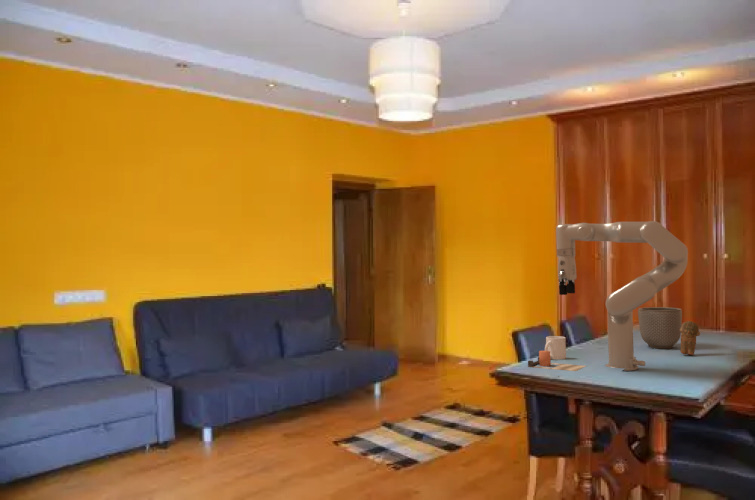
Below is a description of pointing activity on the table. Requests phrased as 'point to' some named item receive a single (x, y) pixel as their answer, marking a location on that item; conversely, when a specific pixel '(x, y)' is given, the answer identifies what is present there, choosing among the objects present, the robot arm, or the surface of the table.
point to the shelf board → (560, 367)
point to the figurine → (688, 337)
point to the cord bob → (544, 358)
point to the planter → (660, 326)
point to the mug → (556, 347)
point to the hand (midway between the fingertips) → (567, 294)
